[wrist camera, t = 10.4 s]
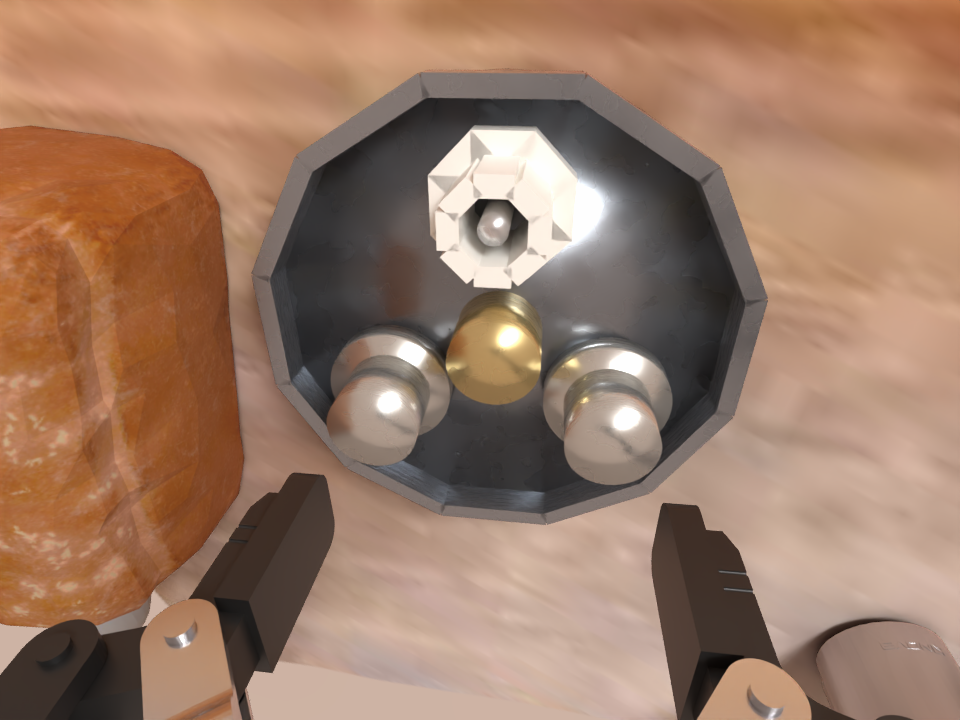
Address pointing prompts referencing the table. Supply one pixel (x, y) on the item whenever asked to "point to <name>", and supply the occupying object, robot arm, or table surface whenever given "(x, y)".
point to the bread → (108, 373)
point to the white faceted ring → (502, 175)
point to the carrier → (509, 304)
